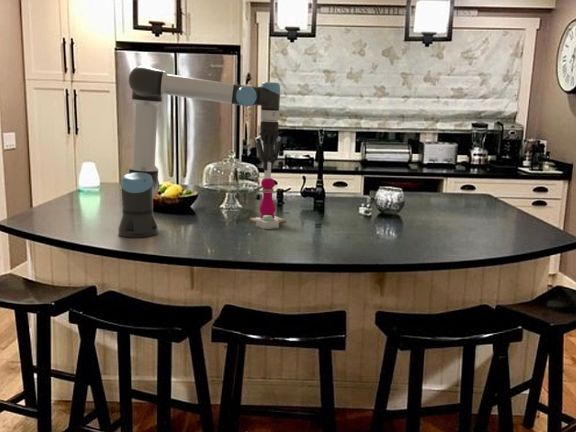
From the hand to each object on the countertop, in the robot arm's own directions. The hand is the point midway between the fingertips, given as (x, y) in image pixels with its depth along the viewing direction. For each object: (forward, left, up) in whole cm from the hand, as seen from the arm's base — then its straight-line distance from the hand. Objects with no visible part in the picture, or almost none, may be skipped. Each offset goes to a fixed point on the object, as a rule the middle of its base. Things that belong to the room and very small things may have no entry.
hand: (267, 178), depth 240 cm
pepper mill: (+6, +9, -20) cm, 23 cm away
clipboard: (+6, +9, -21) cm, 24 cm away
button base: (0, 0, -21) cm, 21 cm away
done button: (0, 0, -20) cm, 20 cm away
